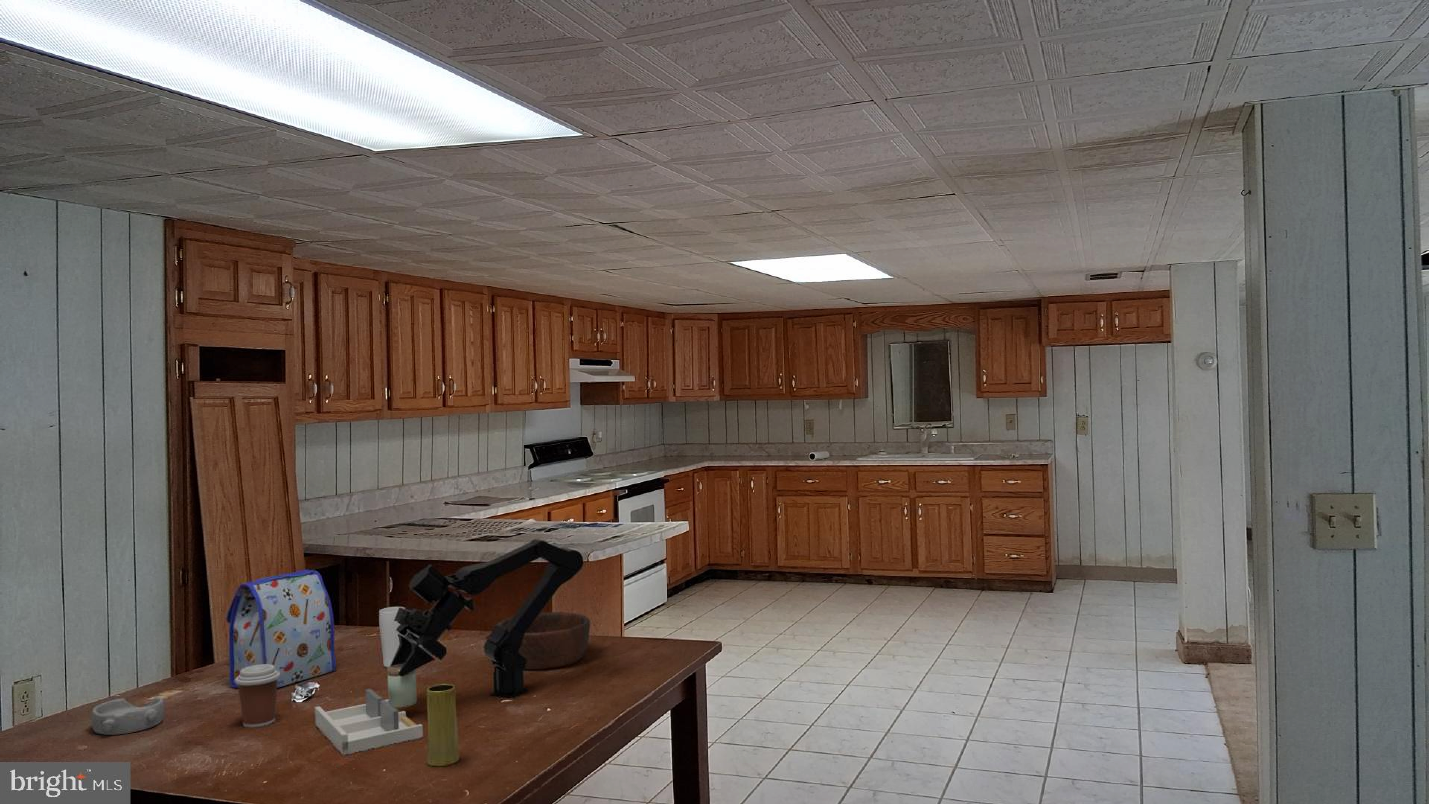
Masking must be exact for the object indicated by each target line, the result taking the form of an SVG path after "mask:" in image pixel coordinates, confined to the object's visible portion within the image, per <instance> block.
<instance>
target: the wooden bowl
mask: <svg viewBox="0 0 1429 804" xmlns="http://www.w3.org/2000/svg"><path fill="white" fill-rule="evenodd" d="M512 618H513V616H511V617H509V618H505V619H502V620H501V621H499V622H498V623H497V624H496V625H499V626H501V627H503V626H504V625H506V624H507V623H509V621H510V620H511V619H512ZM590 629H591V620H590V618H589V617H588V616H586V615H584V614H580V613H574V612H563V611H562V612H561V611H560V612H559V611H550V612H540V614H539V615H538V616H537V618H536V619H535V620H534V622H533V623H532V624H531V626H530V627H529V629H528V630H527V631H526V633H525V634H524V637H523V641H522V645H521V648H520V650H519V652H518V653H519V654H521V655H522V656H523V657H524V658H525V659H527V662H526V666H525V669H524V670H527V671H529V670H531V671H532V670H533V671H534V670H536V671H537V670H549V669H550V670H551V669H556V668H557V669H558V668H562V667H566V666H570V665H572V664H575V663H577V662H579V661H580V660H581V659H582V657H583V656H584V654H585V652H586V650H587V648H588V647H587V646H588V644H589V640H590V639H589V637H590V631H591V630H590Z"/></svg>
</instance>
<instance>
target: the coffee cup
mask: <svg viewBox="0 0 1429 804" xmlns="http://www.w3.org/2000/svg"><path fill="white" fill-rule="evenodd" d="M279 678H280V672H278V671H277V670H275V666H274V665H270V664H261V665H253V666H249V667H245V668H243V669H242V670H241V671H240V674H239V676H238V677H236V679H235V683H236V684H237V685H238V686H239V688H238V691H239V692H238V693H239V700H240V708H241V709H240V710H241V715H242V716H241V717H242V718H241V719H242V725H243V727H245V728H259V727H265V726H268V725H271V724H273V723H275V722H276V710H277V709H276V707H277V690H278V688H277V679H279ZM272 722H273V723H272ZM264 725H265V726H264Z"/></svg>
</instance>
